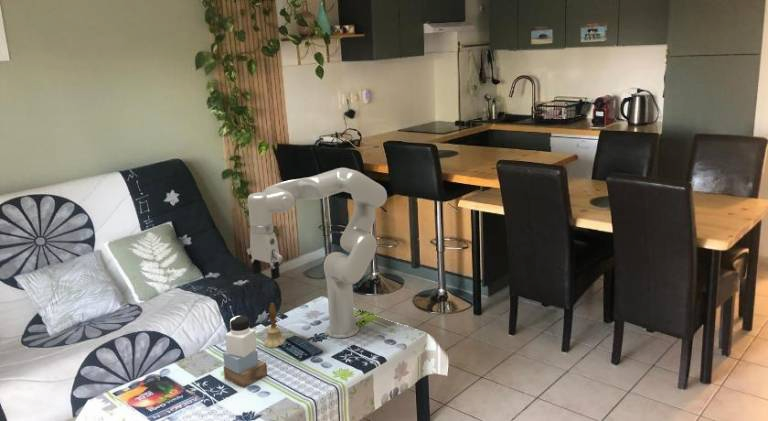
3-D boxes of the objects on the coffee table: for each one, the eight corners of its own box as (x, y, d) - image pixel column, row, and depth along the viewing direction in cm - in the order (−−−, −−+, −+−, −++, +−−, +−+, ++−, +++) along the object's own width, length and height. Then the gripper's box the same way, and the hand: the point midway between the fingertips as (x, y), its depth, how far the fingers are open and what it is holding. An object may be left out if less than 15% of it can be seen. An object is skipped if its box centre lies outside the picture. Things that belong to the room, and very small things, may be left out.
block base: (248, 368, 228) (246, 354, 227) (267, 376, 222) (266, 362, 221) (224, 379, 220) (223, 366, 219) (244, 388, 214) (242, 374, 213)
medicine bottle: (257, 349, 220) (254, 315, 217) (244, 358, 213) (241, 323, 211) (239, 345, 223) (237, 312, 220) (226, 354, 216) (223, 320, 214)
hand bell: (270, 337, 250) (267, 298, 246) (289, 339, 248) (286, 300, 244) (259, 346, 243) (255, 306, 239) (279, 349, 240) (276, 309, 236)
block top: (244, 357, 225) (243, 344, 224) (258, 364, 220) (257, 351, 218) (224, 366, 219) (223, 352, 218) (238, 373, 214) (237, 359, 213)
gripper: (287, 229, 222) (291, 277, 227) (253, 222, 233) (258, 267, 237) (270, 235, 217) (275, 283, 221) (236, 227, 227) (241, 274, 232)
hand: (266, 275), depth 229 cm, fingers open, 9 cm apart
